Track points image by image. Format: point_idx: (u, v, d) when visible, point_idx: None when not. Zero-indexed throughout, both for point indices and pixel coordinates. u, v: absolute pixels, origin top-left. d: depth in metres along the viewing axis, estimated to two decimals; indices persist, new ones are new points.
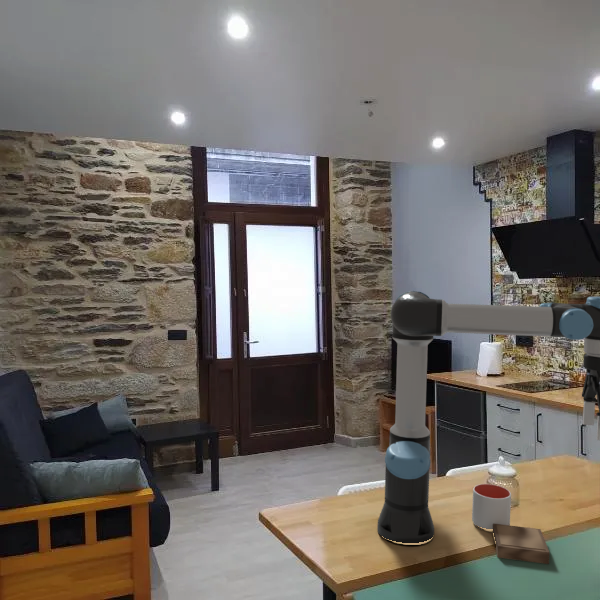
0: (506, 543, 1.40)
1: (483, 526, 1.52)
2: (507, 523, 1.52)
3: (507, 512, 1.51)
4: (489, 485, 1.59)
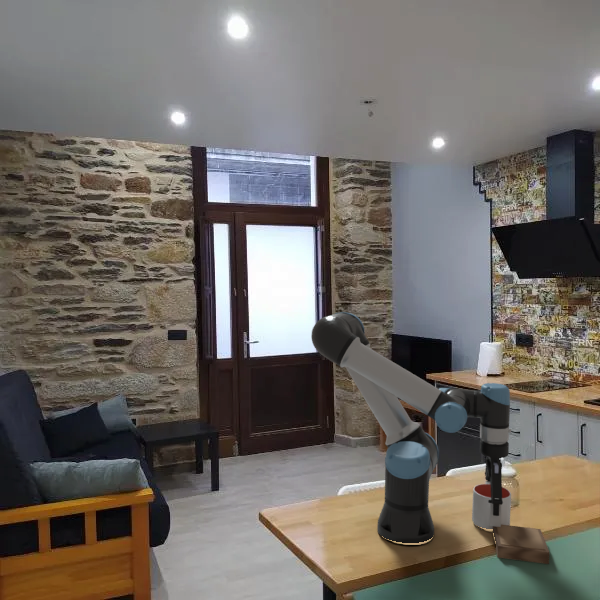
0: (506, 543, 1.40)
1: (483, 526, 1.52)
2: (507, 523, 1.52)
3: (507, 512, 1.51)
4: (489, 485, 1.59)
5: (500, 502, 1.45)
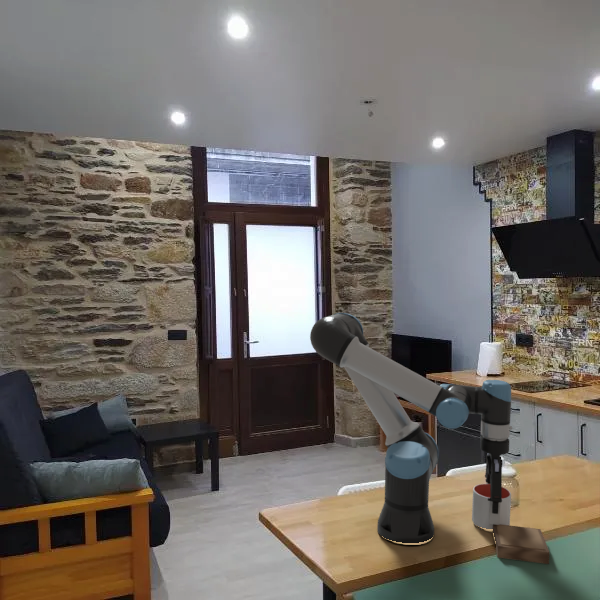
0: (506, 543, 1.40)
1: (483, 526, 1.52)
2: (507, 523, 1.52)
3: (507, 512, 1.51)
4: (489, 485, 1.59)
5: (499, 500, 1.46)
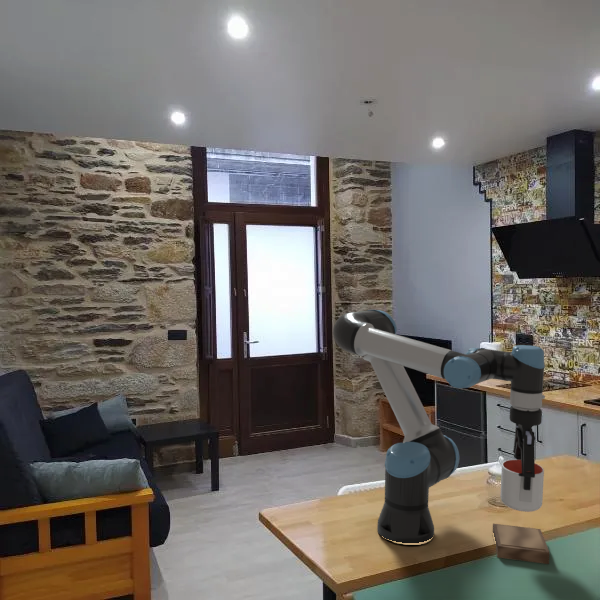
0: (506, 543, 1.40)
1: (514, 505, 1.39)
2: (540, 501, 1.39)
3: (540, 489, 1.38)
4: (518, 461, 1.46)
5: (532, 475, 1.33)
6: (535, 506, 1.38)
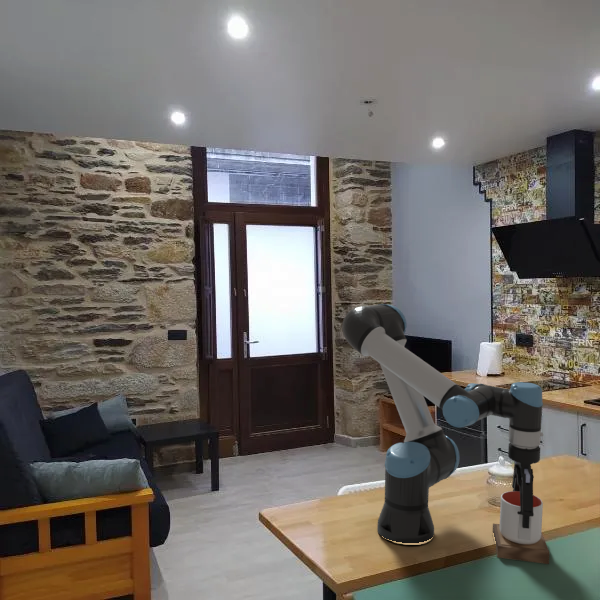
0: (506, 543, 1.40)
1: (513, 537, 1.39)
2: (539, 534, 1.39)
3: (539, 522, 1.39)
4: (517, 492, 1.47)
5: (531, 514, 1.34)
6: (534, 539, 1.39)
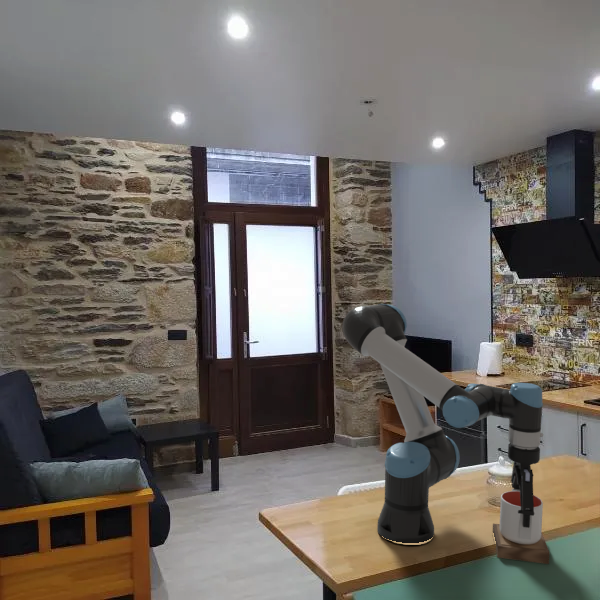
0: (506, 543, 1.40)
1: (513, 537, 1.39)
2: (539, 534, 1.39)
3: (539, 522, 1.39)
4: (517, 492, 1.47)
5: (531, 513, 1.33)
6: (534, 539, 1.39)
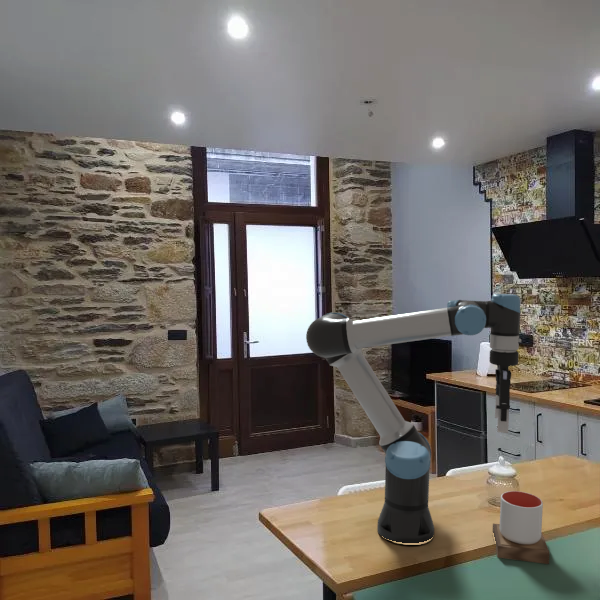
0: (506, 543, 1.40)
1: (513, 537, 1.39)
2: (539, 534, 1.39)
3: (539, 522, 1.39)
4: (517, 492, 1.47)
5: (507, 406, 1.45)
6: (534, 539, 1.39)
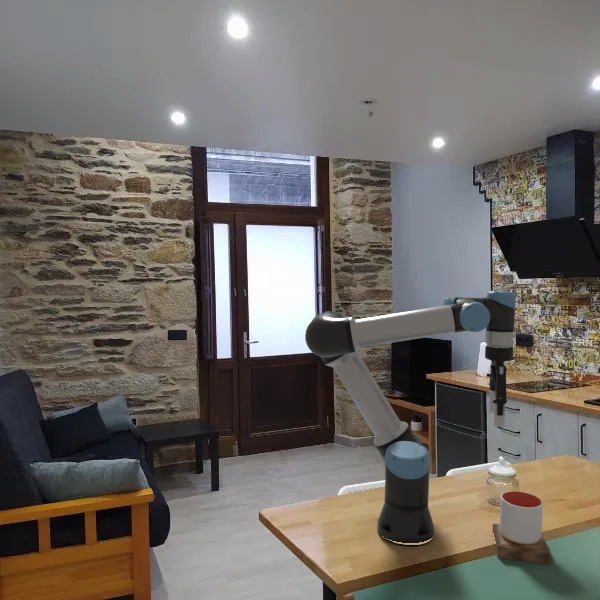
0: (506, 543, 1.40)
1: (513, 537, 1.39)
2: (539, 534, 1.39)
3: (539, 522, 1.39)
4: (517, 492, 1.47)
5: (504, 401, 1.48)
6: (534, 539, 1.39)
